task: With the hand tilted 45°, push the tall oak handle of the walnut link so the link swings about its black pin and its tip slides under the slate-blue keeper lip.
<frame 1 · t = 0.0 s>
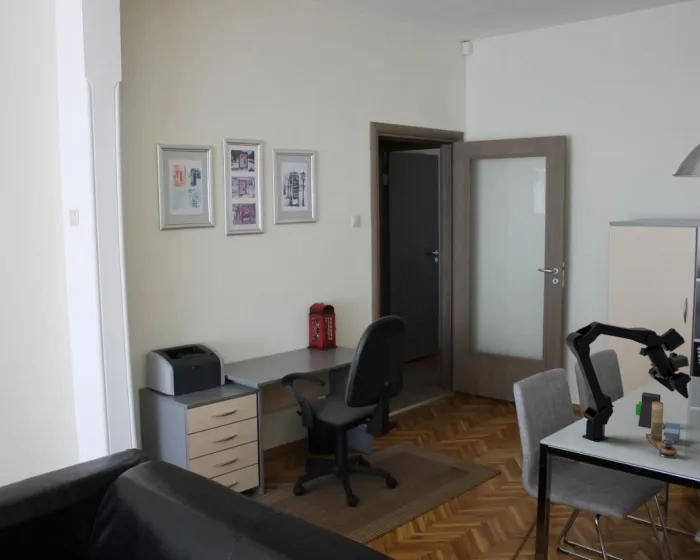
hand: (680, 394, 260), 15 cm above the table, tool tilted 35°, fingers open, 9 cm apart
swing link: (660, 426, 246), point 8 cm above the table, hinge at 0.0°
keeper: (673, 441, 254), on the table
phone stand: (650, 425, 273), on the table
pin stand: (668, 455, 240), on the table
pipe clamp: (642, 414, 287), on the table
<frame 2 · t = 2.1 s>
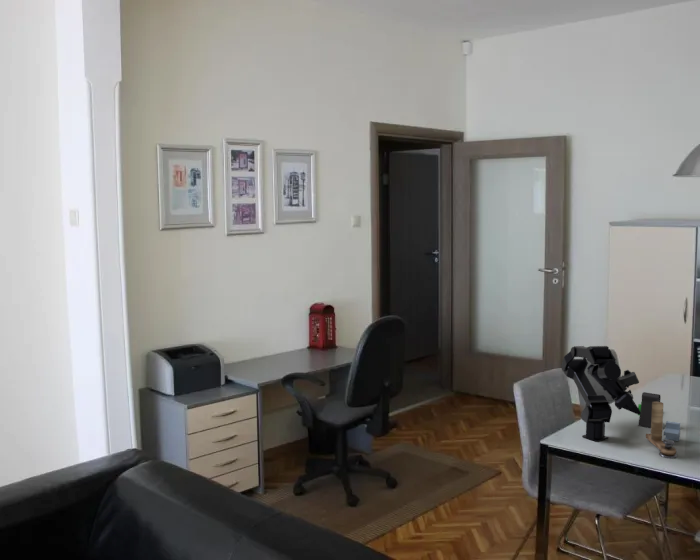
hand: (639, 412, 250), 11 cm above the table, tool tilted 45°, fingers closed
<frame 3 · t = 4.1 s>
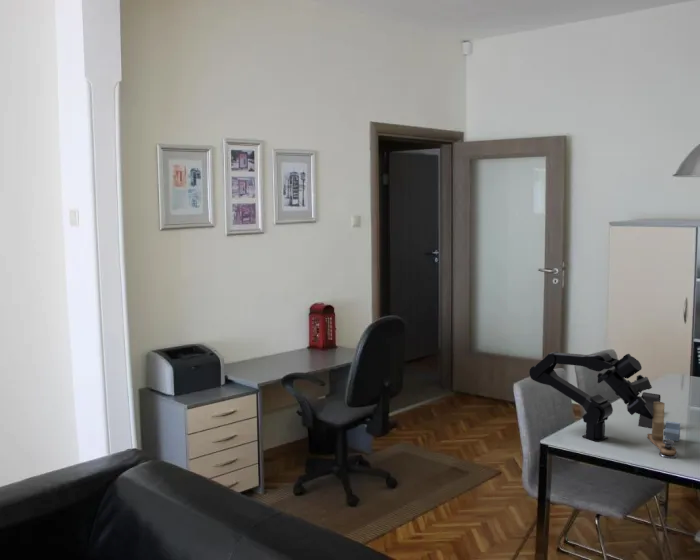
hand: (652, 418, 249), 10 cm above the table, tool tilted 45°, fingers closed
swing link: (661, 426, 246), point 8 cm above the table, hinge at -2.3°, touching gripper
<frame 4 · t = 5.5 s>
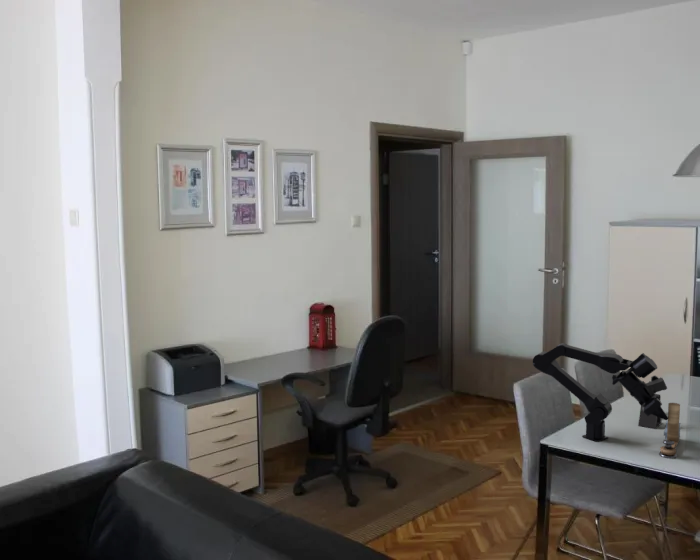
hand: (667, 419, 248), 10 cm above the table, tool tilted 45°, fingers closed, pressing on swing link
swing link: (671, 426, 245), point 8 cm above the table, hinge at -30.7°, touching gripper
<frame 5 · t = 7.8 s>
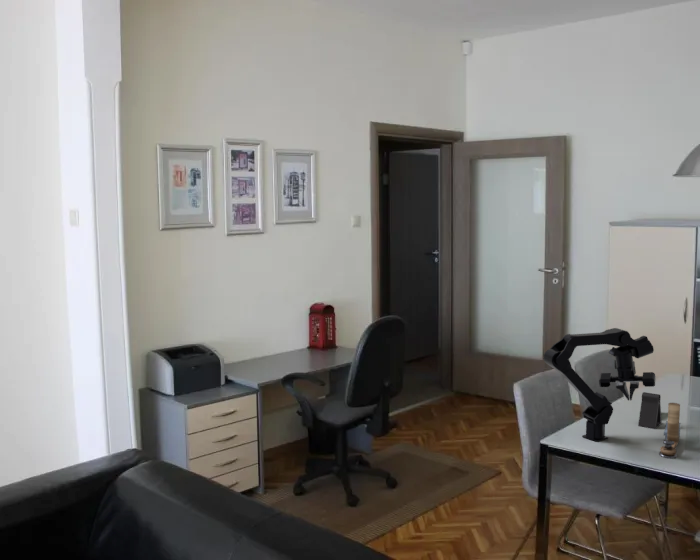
hand: (629, 399, 263), 12 cm above the table, tool tilted 20°, fingers closed
swing link: (671, 426, 245), point 8 cm above the table, hinge at -30.8°
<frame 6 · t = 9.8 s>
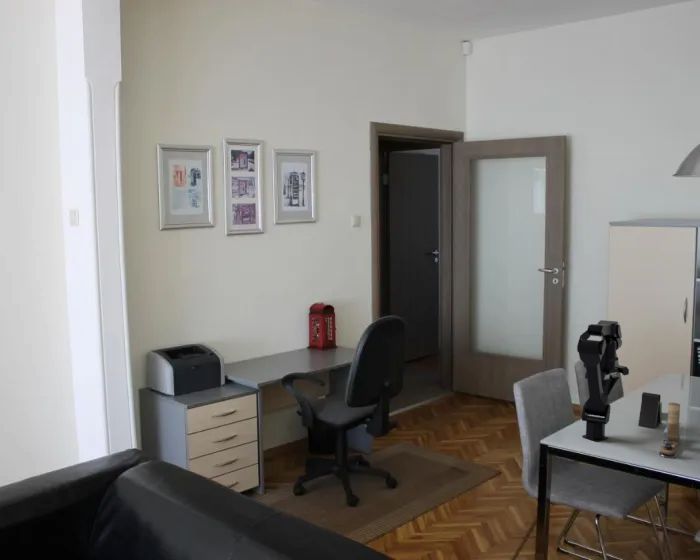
hand: (606, 395, 270), 12 cm above the table, tool pointing down, fingers closed
at the end: swing link at -31° (first picture: +0°); phone stand moved 0.3 cm from its start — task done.
